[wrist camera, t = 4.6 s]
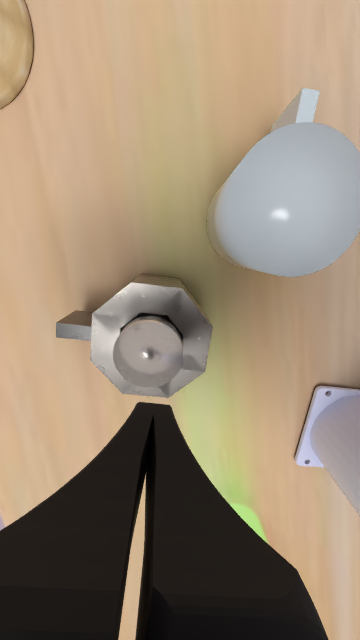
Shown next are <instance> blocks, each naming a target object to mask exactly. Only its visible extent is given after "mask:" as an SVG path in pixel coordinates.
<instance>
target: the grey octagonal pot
mask: <svg viewBox="0 0 360 640" xmlns="http://www.w3.org/2000/svg"><path fill="white" fill-rule="evenodd" d="M141 312H142V313H151V314H160V315H167V316H168V317H169V318H170V319H171V321H172V322H173V326H174V327H175V328H176V330H177V331H178V333H179V334H180V337H181V340H182V346H183V355H184V356H183V363H182V366H181V369H180V370H179V372H178V373H177V375H176V376H175V377H174V378H173V379H172V380H171V381H169V382H168V383H166V384H164V385H161V386H158V387H151V388H146V387H140V386H136V385H134V384H132V383H130V382H128V381H127V380H125V379H124V378H123V377H122V376H121V375H120V374H119V372H118V371H117V369H116V367H115V364H114V361H113V348H114V344H115V342H116V340H117V338H118V336H119V335H120V333H121V332H122V330H123V329H124V327H125V326H126V325H127V324H128V323H130V322H131V321H133V320H135V319H137V318H138V317H139V315H140V313H141ZM211 333H212V325H211V324H210V322H209V320H208V318H207V316H206V315H205V313H204V311H203V309H202V308H201V306H200V305H199V304H198V302H197V301H196V300H195V298H194V297H193V296H192V295H191V293H190V292H189V291H188V289H187V288H186V287H185V286H184V284H183V283H182V282H181V280H180V279H178V278H170V277H162V276H154V275H146V274H141V275H139V276H138V277H137V278H136V279H134V280H133V281H132V282H131V283H129V284H128V285H127V286H126V287H125V288H123V289H122V290H121V291H120V292H118V293H117V294H116V295H115V296H113V297H112V298H111V299H110V300H108V301H107V302H106V303H105V304H103V305H102V306H101V307H100V308H99V309H97V310H96V311H95V312H85V311H77V310H76V311H74V312H72V313H71V314H69V315H68V316H66V317H65V318H63V319H61V320H60V321H58V322H57V323H56V337H57V338H67V339H77V340H86V341H91V356H90V360H91V361H92V362H93V364H94V365H95V366H96V367H97V368H98V369H99V370H100V371H101V372H102V373H103V374H104V375H105V376H106V377H107V378H108V379H109V380H110V381H111V382H112V383H113V384H114V385H115V386H116V388H117V389H118V390H119V391H120V392H121V393H122V394H132V395H143V396H154V397H165V398H169V397H170V396H172V395H173V394H174V393H176V392H177V391H179V390H180V389H181V388H183V387H184V386H186V385H187V384H188V383H190V382H191V381H193V380H194V379H195V378H197V377H198V376H200V375H201V374H202V373H204V372H205V369H206V363H207V357H208V351H209V345H210V339H211Z"/></svg>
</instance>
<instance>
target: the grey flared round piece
mask: <svg viewBox="0 0 360 640" xmlns="http://www.w3.org/2000/svg"><path fill="white" fill-rule="evenodd" d="M183 356H184V355H183V346H182V340H181V337H180V334H179V333H178V331H177V330H176V328H175V327H174V326H173V322H172V321H171V319H170V318H169V317H168V316H167V315H160V314H151V313H142V312H141V313H140V315H139V317H138V318H137V319H135V320H133V321H131V322H130V323H128V324H127V325H126V326H125V327H124V329H123V330H122V332H121V333H120V335H119V336H118V338H117V340H116V342H115V344H114V348H113V361H114V364H115V367H116V369H117V371H118V372H119V374H120V375H121V376H122V377H123V378H124V379H125V380H127V381H128V382H130V383H132V384H134V385H136V386H140V387H146V388H151V387H158V386H161V385H164V384H166V383H168V382H169V381H171V380H172V379H173V378H174V377H175V376H176V375H177V373H178V372H179V370H180V369H181V366H182V363H183Z"/></svg>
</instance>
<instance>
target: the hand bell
mask: <svg viewBox="0 0 360 640" xmlns="http://www.w3.org/2000/svg"><path fill="white" fill-rule="evenodd" d="M32 59H33V34H32V26H31V20H30V17H29V13H28V10H27V7H26V4H25V1H24V0H0V109H1V108H3V107H4V106H6V105H7V104H9V103H10V102H11V101H12V100H13V99H14V98H15V97H16V96H17V95H18V94H19V92H20V91H21V89H22V88H23V86H24V85H25V83H26V79H27V78H28V75H29V72H30V68H31V63H32Z"/></svg>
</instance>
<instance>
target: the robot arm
mask: <svg viewBox="0 0 360 640" xmlns="http://www.w3.org/2000/svg"><path fill="white" fill-rule="evenodd" d="M327 391H329V392H328V393H327V394H325V393H326V392H327ZM305 460H306V461H305ZM295 461H296V463H297V464H298V465H300V466H312V467H325V469H326V470H327V471H328V473H329V474H330V476H331V477H332V478H333V480H334V481H335V483H336V484H337V485H338V487H339V488H340V490H341V491H342V492H343V494H344V495H345V497H346V498H347V499H348V501H349V502H350V504H351V505H352V506H353V508H354V509H355V511H356V512H357V513H358V515H359V516H360V389H351V388H340V387H330V386H318V387H317V388H316V389H315V391H314V395H313V398H312V402H311V405H310V408H309V412H308V415H307V419H306V422H305V425H304V429H303V432H302V436H301V439H300V442H299V446H298V449H297V453H296V456H295ZM145 475H146V499H145V541H144V556H143V567H142V577H141V588H140V598H139V608H138V619H137V629H136V639H135V640H328V637H327V635H326V632H325V630H324V627H323V625H322V622H321V620H320V617H319V615H318V613H317V610H316V608H315V606H314V604H313V602H312V599H311V597H310V595H309V593H308V591H307V589H306V587H305V585H304V583H303V581H302V579H301V577H300V575H299V573H298V571H297V569H295V568H294V567H293V566H292V565H291V564H290V563H289V562H288V561H286V560H285V559H284V558H283V557H282V556H281V555H280V554H279V553H277V552H276V551H275V550H274V549H273V548H272V547H271V546H270V545H268V544H267V543H266V542H265V541H264V540H263V539H262V538H261V537H260V536H258V534H256V533H255V531H254V530H253V529H252V528H251V527H249V526H248V524H246V522H245V521H244V520H243V519H242V518H241V517H240V516H239V515H238V514H237V513H236V512H235V510H234V509H233V508H232V507H231V506H230V505H229V504H228V502H227V501H226V500H225V499H224V498H223V497H222V495H221V494H220V493H219V492H218V490H217V489H216V488H215V486H214V485H213V484H212V483H211V481H210V480H209V478H208V477H207V476H206V474H205V473H204V471H203V470H202V468H201V467H200V465H199V464H198V462H197V460H196V459H195V457H194V455H193V454H192V452H191V450H190V449H189V447H188V445H187V443H186V441H185V439H184V437H183V435H182V433H181V431H180V429H179V427H178V424H177V422H176V419H175V417H174V414H173V411H172V408H171V406H170V405H164V404H154V403H144V402H139V403H137V404H136V406H135V408H134V410H133V411H132V413H131V415H130V416H129V418H128V419H127V420H126V422H125V423H124V424H123V426H122V427H121V428H120V430H119V431H118V432H117V434H116V435H115V436H114V437H113V438H112V439H111V441H110V442H109V443H108V444H107V445H106V446H105V447H104V449H103V450H102V451H101V452H100V453H99V454H98V455H97V456H96V457H95V458H94V459H93V460H92V461H91V462H90V463H89V464H88V465H87V466H86V467H85V468H84V469H83V470H81V471H80V472H79V473H78V474H77V475H76V476H75V477H73V478H72V479H71V480H70V481H69V482H68V483H66V484H65V485H64V486H63V487H62V488H60V489H59V490H58V491H57V492H55V493H54V494H53V495H51V496H50V497H49V498H47V499H46V500H44V501H43V502H42V503H40V504H39V505H38V506H36V507H35V508H33V509H32V510H31V511H29V512H28V513H27V514H25V515H24V516H22V517H21V518H19V519H18V520H16V521H15V522H13V523H12V524H10V525H9V526H7V527H5V528H4V529H2V530H1V531H0V640H118V637H119V630H120V622H121V615H122V607H123V600H124V592H125V585H126V578H127V570H128V563H129V555H130V549H131V543H132V537H133V532H134V527H135V523H136V518H137V513H138V508H139V504H140V499H141V494H142V489H143V484H144V480H145Z"/></svg>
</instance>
